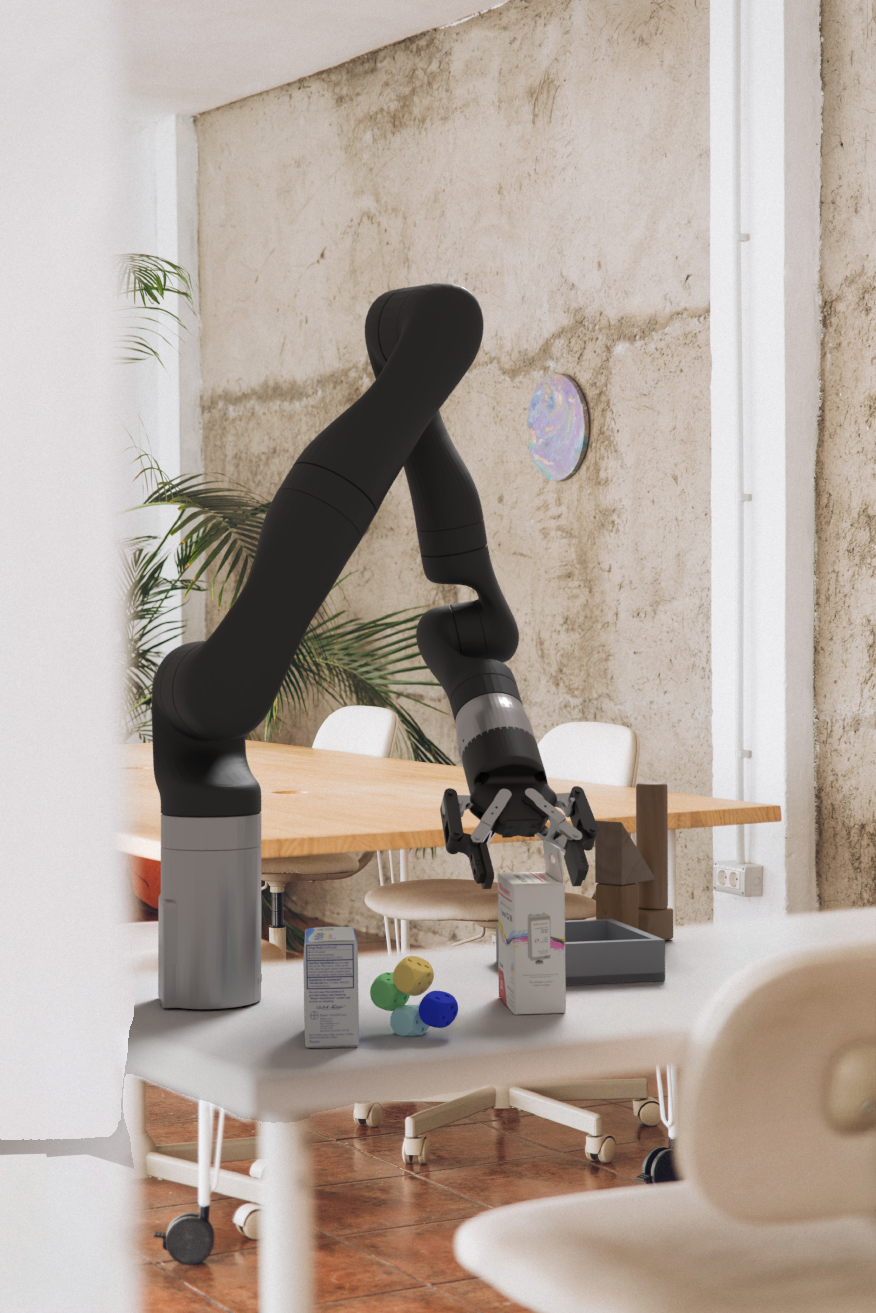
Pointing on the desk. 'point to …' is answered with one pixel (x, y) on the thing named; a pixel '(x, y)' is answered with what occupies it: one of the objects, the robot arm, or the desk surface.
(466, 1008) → the desk surface
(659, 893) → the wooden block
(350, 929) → the medicine box
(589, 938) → the box
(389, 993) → the dice
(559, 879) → the ink cartridge box
